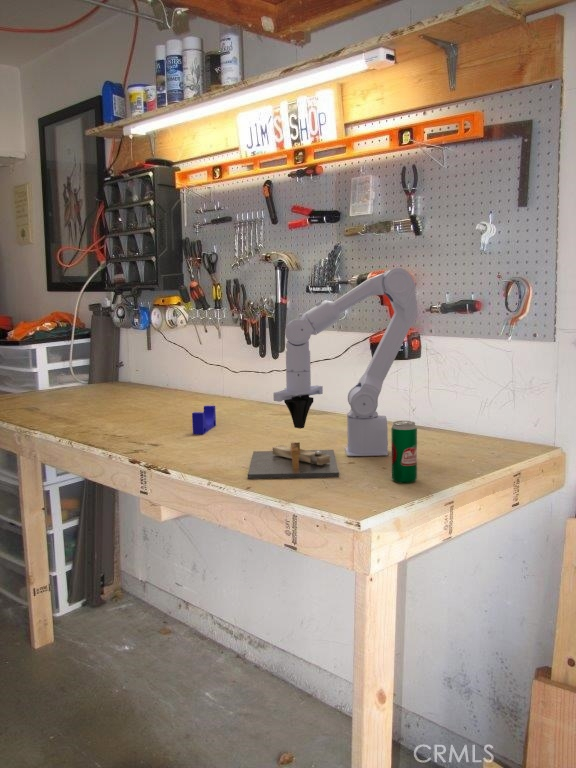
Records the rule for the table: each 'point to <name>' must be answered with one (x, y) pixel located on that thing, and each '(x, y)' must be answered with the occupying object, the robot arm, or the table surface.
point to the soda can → (404, 451)
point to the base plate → (290, 465)
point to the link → (302, 455)
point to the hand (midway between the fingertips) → (299, 427)
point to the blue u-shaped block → (204, 420)
